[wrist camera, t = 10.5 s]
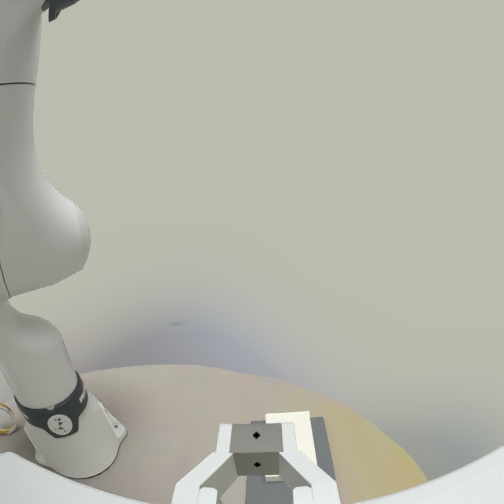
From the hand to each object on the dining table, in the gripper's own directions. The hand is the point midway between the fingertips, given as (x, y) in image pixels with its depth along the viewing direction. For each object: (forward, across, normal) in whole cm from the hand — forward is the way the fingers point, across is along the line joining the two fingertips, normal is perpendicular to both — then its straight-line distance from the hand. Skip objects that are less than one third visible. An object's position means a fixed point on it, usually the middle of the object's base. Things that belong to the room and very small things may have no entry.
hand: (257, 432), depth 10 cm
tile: (+13, -3, +27) cm, 30 cm away
